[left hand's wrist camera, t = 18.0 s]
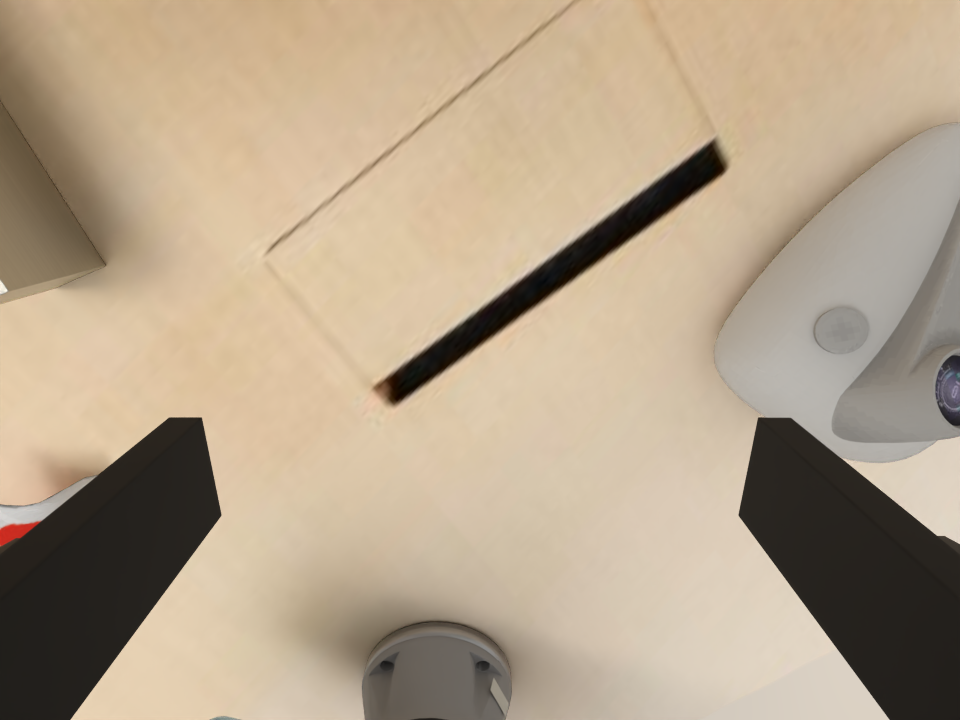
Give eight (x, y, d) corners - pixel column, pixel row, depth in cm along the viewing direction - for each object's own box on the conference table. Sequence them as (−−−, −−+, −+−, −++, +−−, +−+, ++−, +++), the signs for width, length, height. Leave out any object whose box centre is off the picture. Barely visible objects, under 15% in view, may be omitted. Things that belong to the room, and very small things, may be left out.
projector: (991, 383, 44) (1223, 482, 30) (716, 455, 46) (815, 578, 33) (996, 102, 37) (1306, 64, 23) (670, 205, 39) (773, 227, 25)
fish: (-114, 538, 44) (-163, 630, 36) (65, 419, 47) (54, 480, 40) (5, 595, 50) (-16, 684, 42) (154, 487, 54) (160, 550, 46)
